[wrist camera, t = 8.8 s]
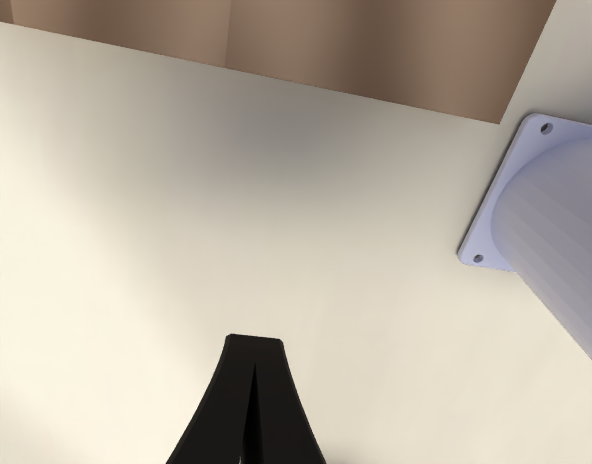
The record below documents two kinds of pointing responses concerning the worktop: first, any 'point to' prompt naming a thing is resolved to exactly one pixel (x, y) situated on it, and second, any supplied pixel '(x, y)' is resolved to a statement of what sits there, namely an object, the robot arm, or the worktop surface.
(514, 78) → the deck
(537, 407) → the worktop surface
